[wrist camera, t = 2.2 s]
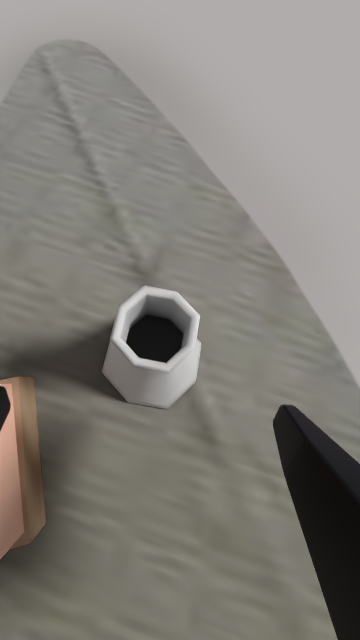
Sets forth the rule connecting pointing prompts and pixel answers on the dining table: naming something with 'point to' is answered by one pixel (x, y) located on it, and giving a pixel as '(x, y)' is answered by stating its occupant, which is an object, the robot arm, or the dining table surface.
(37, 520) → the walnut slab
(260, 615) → the dining table surface
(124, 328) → the flask
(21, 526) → the terracotta slab
